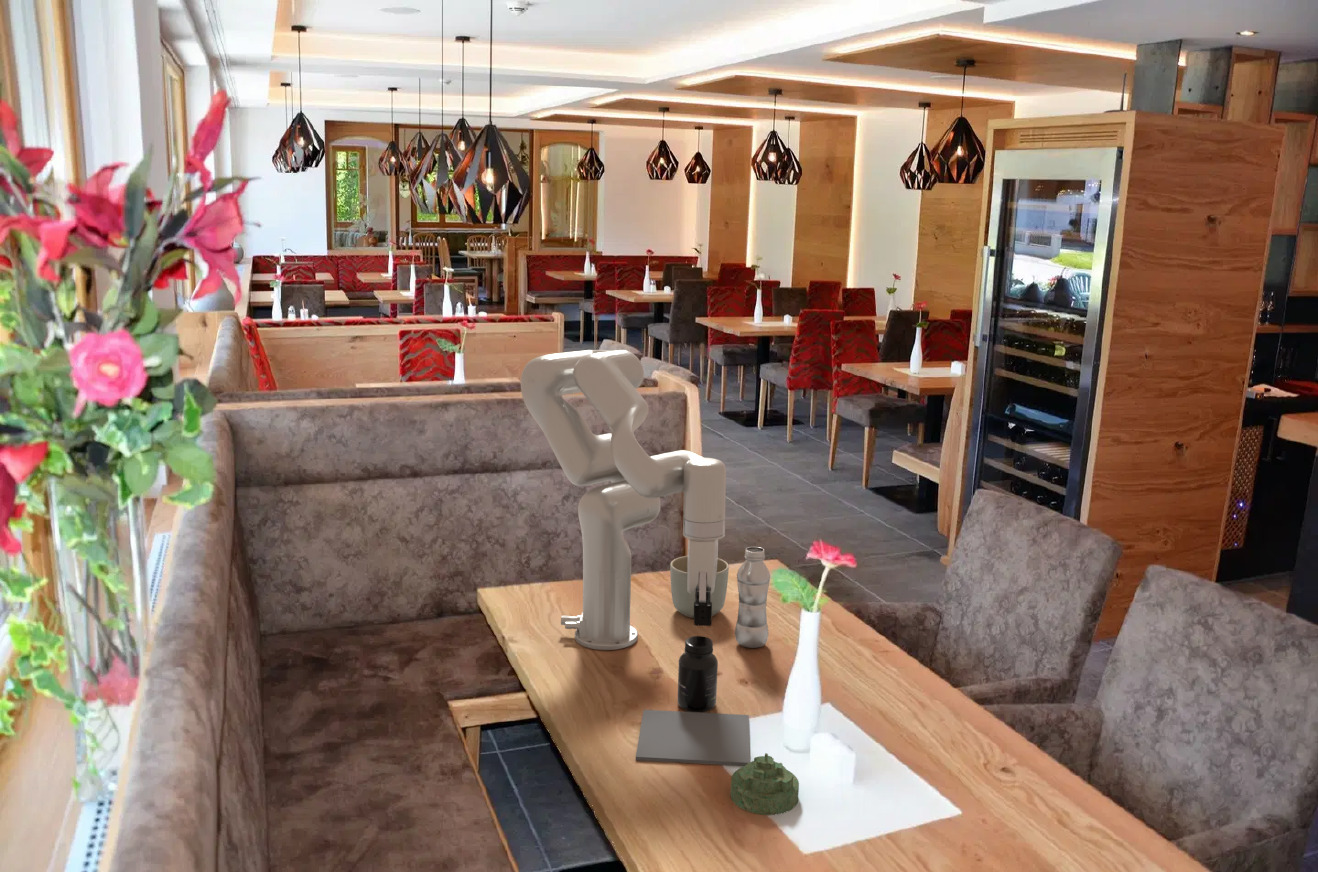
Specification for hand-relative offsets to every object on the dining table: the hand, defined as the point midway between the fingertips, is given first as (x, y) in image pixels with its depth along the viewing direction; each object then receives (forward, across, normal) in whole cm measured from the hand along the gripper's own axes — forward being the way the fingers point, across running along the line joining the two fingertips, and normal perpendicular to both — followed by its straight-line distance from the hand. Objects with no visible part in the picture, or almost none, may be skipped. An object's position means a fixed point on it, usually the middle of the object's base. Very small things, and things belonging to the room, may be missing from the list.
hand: (702, 623), depth 195 cm
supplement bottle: (+11, +10, -1) cm, 15 cm away
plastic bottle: (+11, -17, +9) cm, 22 cm away
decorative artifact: (+12, +39, +10) cm, 42 cm away
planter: (+10, -32, -2) cm, 34 cm away
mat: (+11, +22, -1) cm, 25 cm away
